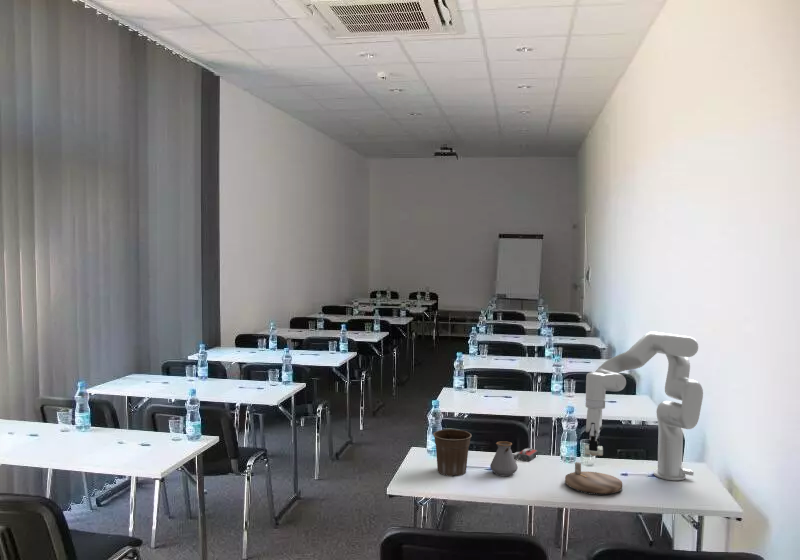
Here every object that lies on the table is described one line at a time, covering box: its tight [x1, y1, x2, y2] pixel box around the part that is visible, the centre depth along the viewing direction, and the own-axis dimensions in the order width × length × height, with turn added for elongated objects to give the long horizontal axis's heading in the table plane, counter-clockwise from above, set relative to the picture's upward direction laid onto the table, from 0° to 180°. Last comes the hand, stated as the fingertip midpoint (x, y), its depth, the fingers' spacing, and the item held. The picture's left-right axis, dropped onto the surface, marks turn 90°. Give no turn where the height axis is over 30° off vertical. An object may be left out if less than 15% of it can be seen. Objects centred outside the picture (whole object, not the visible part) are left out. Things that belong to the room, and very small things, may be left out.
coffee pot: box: [490, 440, 518, 477], centre depth 272 cm, size 21×12×15 cm, turn 176°
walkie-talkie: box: [512, 447, 539, 462], centre depth 298 cm, size 9×4×20 cm
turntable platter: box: [564, 461, 623, 495], centre depth 262 cm, size 22×22×6 cm
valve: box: [584, 426, 604, 457], centre depth 261 cm, size 7×7×12 cm
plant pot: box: [433, 428, 472, 477], centre depth 277 cm, size 16×16×16 cm
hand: (594, 448), depth 261 cm, fingers closed on valve, 3 cm apart
